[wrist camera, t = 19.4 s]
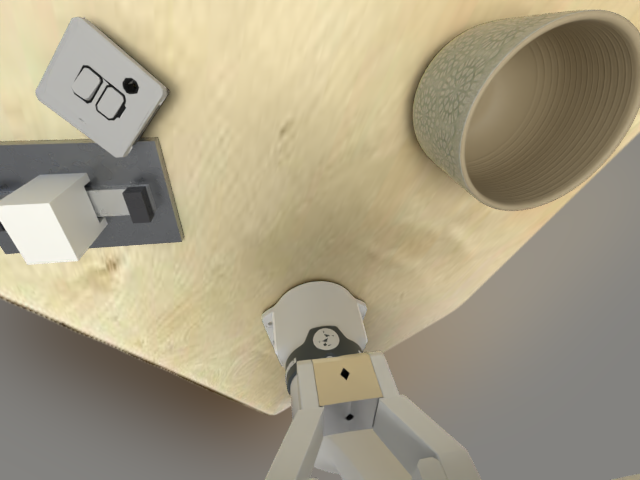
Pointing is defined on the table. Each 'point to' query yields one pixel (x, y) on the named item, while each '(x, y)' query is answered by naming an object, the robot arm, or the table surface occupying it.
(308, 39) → the table surface
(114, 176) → the din board
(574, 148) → the planter
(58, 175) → the din module
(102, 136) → the electrical switch
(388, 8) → the table surface
